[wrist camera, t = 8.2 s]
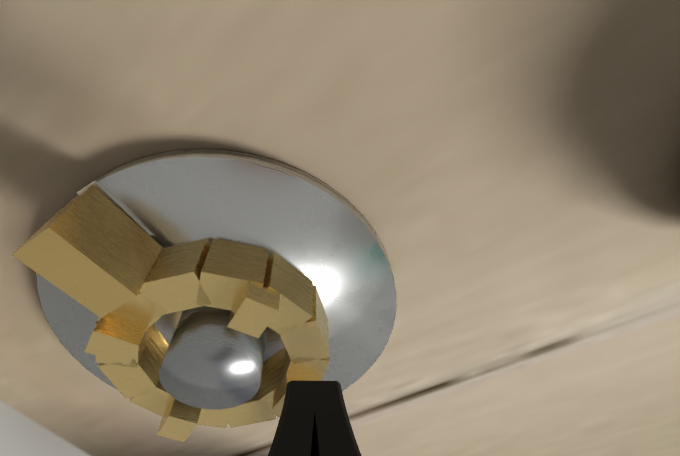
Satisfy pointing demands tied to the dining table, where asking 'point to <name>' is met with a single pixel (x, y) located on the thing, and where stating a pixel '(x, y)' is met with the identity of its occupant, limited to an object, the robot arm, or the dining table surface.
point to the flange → (255, 230)
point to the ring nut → (177, 305)
